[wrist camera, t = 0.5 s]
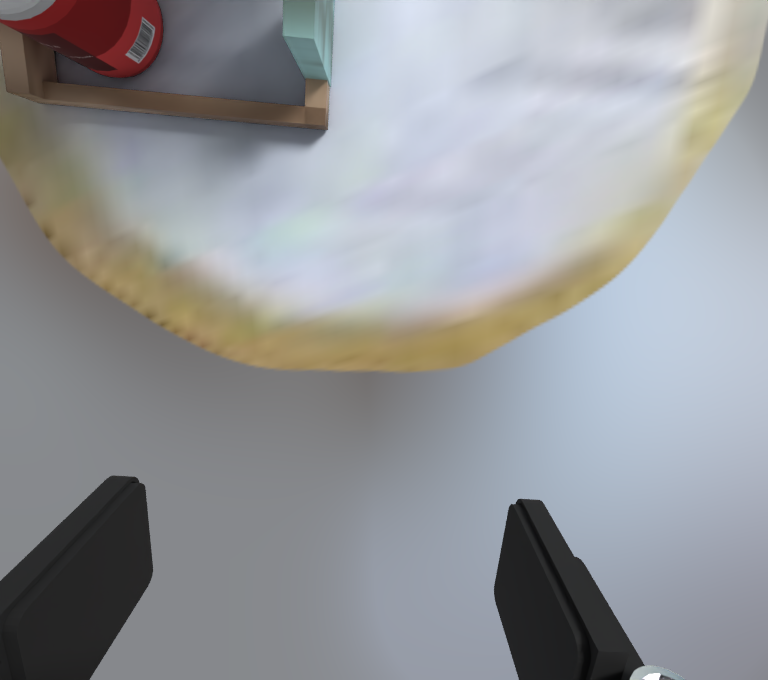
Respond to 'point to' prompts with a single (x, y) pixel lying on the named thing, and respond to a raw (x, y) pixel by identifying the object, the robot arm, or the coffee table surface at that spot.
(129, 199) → the coffee table surface
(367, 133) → the coffee table surface
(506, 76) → the coffee table surface
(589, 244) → the coffee table surface
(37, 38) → the canned food
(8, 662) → the robot arm
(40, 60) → the wooden rectangular frame
